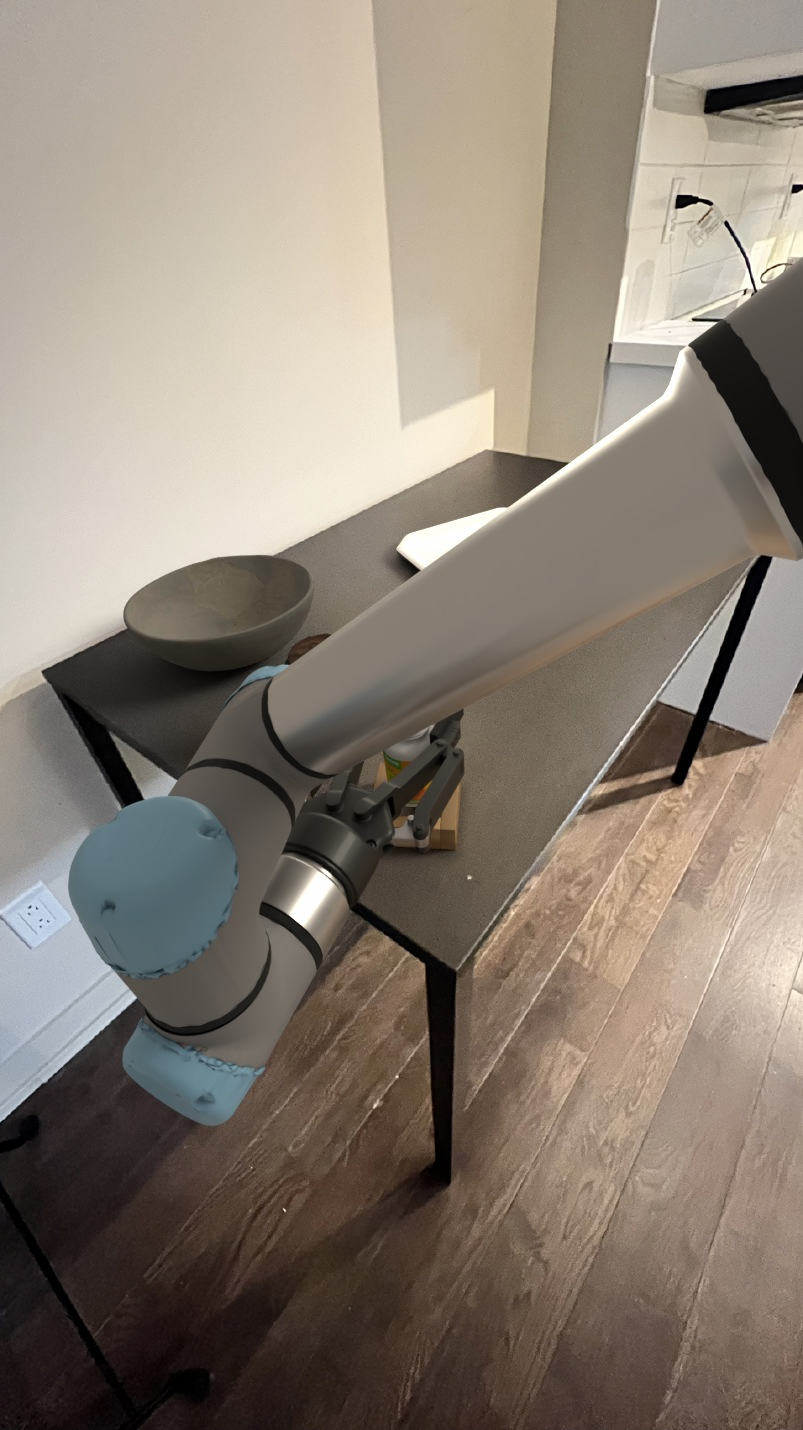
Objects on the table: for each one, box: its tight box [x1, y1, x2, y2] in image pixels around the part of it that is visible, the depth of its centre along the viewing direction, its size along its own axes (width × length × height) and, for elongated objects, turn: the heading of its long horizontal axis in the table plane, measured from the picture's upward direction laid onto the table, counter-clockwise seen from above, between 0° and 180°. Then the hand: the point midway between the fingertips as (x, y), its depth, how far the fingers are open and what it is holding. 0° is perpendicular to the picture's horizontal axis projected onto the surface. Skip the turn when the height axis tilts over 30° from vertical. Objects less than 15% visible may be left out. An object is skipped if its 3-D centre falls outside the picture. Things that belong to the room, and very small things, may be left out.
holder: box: [372, 762, 463, 851], centre depth 64 cm, size 9×9×3 cm
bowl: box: [122, 554, 315, 672], centre depth 90 cm, size 26×26×10 cm
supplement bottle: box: [382, 724, 435, 808], centre depth 60 cm, size 5×5×10 cm
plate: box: [395, 507, 508, 572], centre depth 108 cm, size 29×29×2 cm
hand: (430, 697), depth 61 cm, fingers closed on supplement bottle, 5 cm apart
